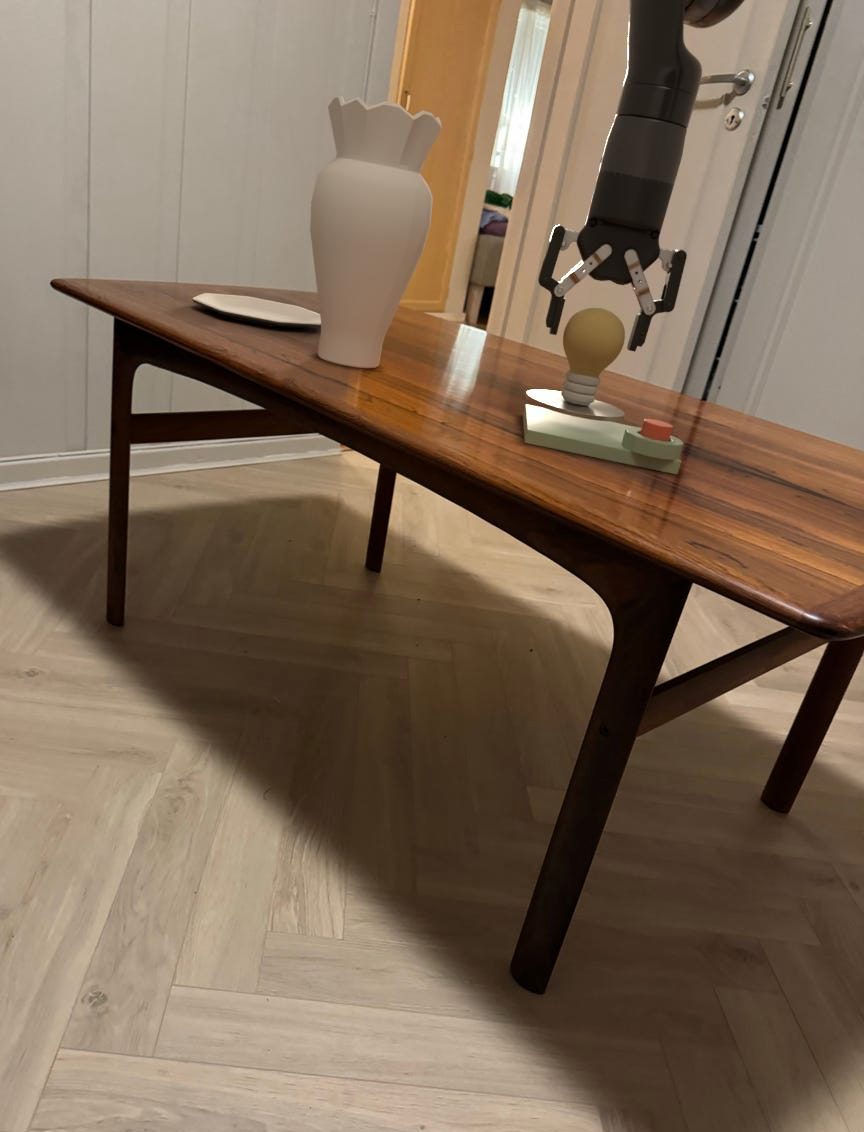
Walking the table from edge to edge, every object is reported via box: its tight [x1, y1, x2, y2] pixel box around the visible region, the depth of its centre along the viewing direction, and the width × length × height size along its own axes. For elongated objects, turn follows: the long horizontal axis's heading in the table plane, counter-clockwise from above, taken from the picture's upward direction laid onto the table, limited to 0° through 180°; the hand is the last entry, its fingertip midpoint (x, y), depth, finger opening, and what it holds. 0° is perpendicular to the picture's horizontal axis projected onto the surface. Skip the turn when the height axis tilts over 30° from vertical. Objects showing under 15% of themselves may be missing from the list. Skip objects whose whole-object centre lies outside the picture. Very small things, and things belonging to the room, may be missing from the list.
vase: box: [309, 94, 443, 369], centre depth 111 cm, size 15×15×29 cm
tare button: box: [640, 418, 674, 442], centre depth 93 cm, size 3×3×2 cm
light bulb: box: [560, 307, 626, 406], centre depth 97 cm, size 6×6×10 cm
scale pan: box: [525, 389, 626, 422], centre depth 100 cm, size 11×11×1 cm
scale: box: [522, 403, 685, 476], centre depth 98 cm, size 16×15×3 cm
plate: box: [191, 292, 321, 329], centre depth 137 cm, size 20×20×2 cm
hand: (592, 342), depth 97 cm, fingers open, 8 cm apart
